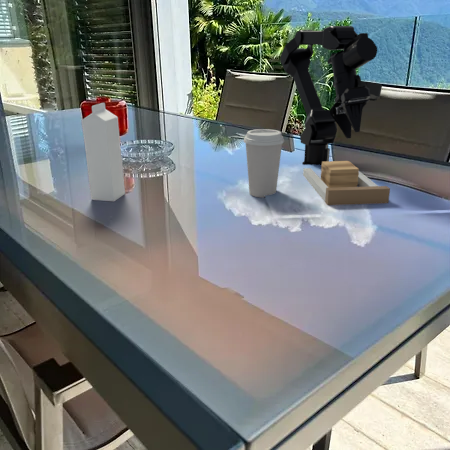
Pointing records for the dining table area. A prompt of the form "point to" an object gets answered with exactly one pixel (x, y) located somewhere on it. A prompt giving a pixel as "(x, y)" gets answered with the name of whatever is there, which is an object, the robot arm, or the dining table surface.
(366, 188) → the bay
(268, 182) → the coffee cup
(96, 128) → the milk
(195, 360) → the dining table surface
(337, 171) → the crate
